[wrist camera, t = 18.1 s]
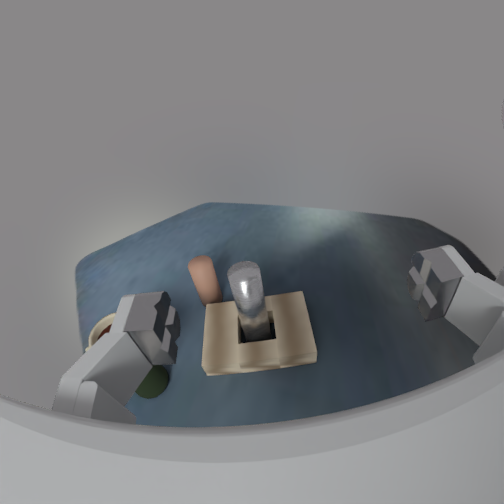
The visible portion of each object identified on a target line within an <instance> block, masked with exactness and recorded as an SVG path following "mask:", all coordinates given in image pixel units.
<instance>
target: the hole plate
mask: <svg viewBox="0 0 504 504" xmlns="http://www.w3.org/2000/svg"><path fill="white" fill-rule="evenodd" d="M265 302H266V308H267V313H268V319H269V323H274V325H275V332H276V339H272V340H265V341H257V342H249V343H241V327H242V324H241V321H240V318H239V314H238V311H237V307H236V304H235V301H229V302H221V303H213V304H206V315H205V327H204V340H203V353H202V367H203V369H204V371H205V372H206V374H207V376H210V375H224V374H235V373H245V372H255V371H263V370H271V369H278V368H285V367H292V366H298V365H304V364H310V363H315V362H316V361H317V349H316V345H315V341H314V336H313V332H312V328H311V324H310V320H309V315H308V311H307V307H306V303H305V299H304V295H303V291H298V292H292V293H285V294H279V295H272V296H265Z"/></svg>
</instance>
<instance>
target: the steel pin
mask: <svg viewBox="0 0 504 504" xmlns="http://www.w3.org/2000/svg"><path fill="white" fill-rule="evenodd" d="M227 275H228V279H229V283H230V286H231V290H232V293H233V297H234V300H235V304H236V307H237V311H238V314H239V318H240V321H241V324H242V328H243V331H244V335H245V338H246V341H247V343H249V342H257V341H265V340H271V338H272V336H271V330H270V325H269V319H268V313H267V308H266V302H265V296H264V291H263V285H262V280H261V274H260V268H259V266H258V265H257V264H256V263H254V262H251V261H242V262H238V263H236V264H234V265H233V266H231V267H230V268H229V270H228V273H227Z"/></svg>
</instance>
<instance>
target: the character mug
mask: <svg viewBox="0 0 504 504" xmlns="http://www.w3.org/2000/svg"><path fill="white" fill-rule="evenodd" d="M115 314H116V313H112V314H109V315H107V316H105V317H103V318H102V319H101V320H100V321H99V322H97V323H96V325H95V326H94V328H93V329H92V330H91V333H90V336H89V347H87V348H86V349H85V350H86V352H87V351H88V350H89V349H90V348H91V347H92V346H93V345H94V344H95V343H96V342H97V341H98V340H99V339H100V338H101V337H102V336H103V335H104V334H105V333H109V332H110V329H111V326H112V323H113V320H114V317H115ZM152 366H153V367H152V368H151V370H150V371H149V372H148V374H147V375H146V377H145V378H144V379H143V381H142V382H141V384H140V385H139V386H138V388H137V389H136V391H135V392H136V393H137V394H138V395H139V396H140V397H144V398H147V399H149V398H154V397H157V396H158V395H160V394H161V393H162V392H163V391H164V389H165V388H166V386H167V383H168V374H167V371H166V369H165V368H164V367H163V366H162V365H152Z"/></svg>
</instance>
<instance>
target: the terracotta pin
mask: <svg viewBox="0 0 504 504" xmlns="http://www.w3.org/2000/svg"><path fill="white" fill-rule="evenodd" d="M188 268H189V271H190V274H191V276H192V279H193V282H194V284H195V287H196V289H197V292H198V294H199V297H200V299H201V302H202V304H203V305H204V306H205V307H206V304H213V303H221V302H222V299H223V296H222V293H221V290H220V287H219V283H218V280H217V277H216V273H215V270H214V267H213V263H212V260H211V258H210V257H208V256H197V257H195V258H193V259H192V260H191V261H190V262H189V264H188Z"/></svg>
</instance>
